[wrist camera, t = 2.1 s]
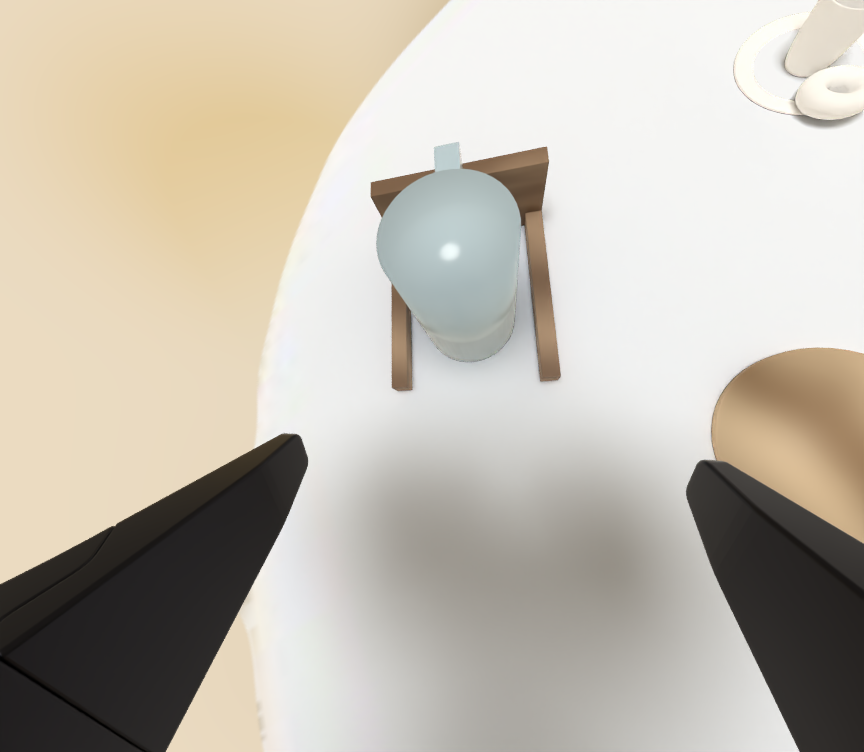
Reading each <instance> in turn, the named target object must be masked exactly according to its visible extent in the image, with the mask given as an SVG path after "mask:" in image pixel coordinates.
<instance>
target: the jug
mask: <svg viewBox="0 0 864 752" xmlns="http://www.w3.org/2000/svg"><path fill="white" fill-rule="evenodd" d="M434 158H435V172H434V173H432V174H429V175H426V176H424V177H422V178H420V179H418V180H416V181H415V182H413V183H412V184H410V185H409V186H407V187H406V188H405V189H404V190H402V191H401V192H400V193H399V194H398V195H397V196H396V197H395V199H394V200H393V201H392V202H391V203H390V205H389V206H388V208H387V210H386V211H385V213H384V215H383V217H382V219H381V222H380V225H379V228H378V233H377V243H376V244H377V254H378V259H379V262H380V264H381V267H382V269H383V270H384V272H385V274H386V275H387V277H388V278H389V280H390V281H391V283H392V284H393V286H394V287H395V288H396V290H397V291H398V293H399V294H400V296H401V297H402V299H403V300H404V301H405V303H406V304H407V306H408V307H409V309H410V310H411V312H412V313H413V314H414V316H415V317H416V319H417V320H418V322H419V323H420V324H421V326H422V327H423V329H424V330H425V332H426V333H427V335H428V336H429V337H430V339H431V340H432V342H433V343H434V345H435V346H436V347H437V349H439V350H440V351H441V352H442V353H443V354H444V355H446V356H448V357H449V358H452V359H454V360H458V361H463V362H474V361H480V360H483V359H486V358H488V357H490V356H492V355H494V354H495V353H497V352H498V351H499V350H500V349H501V348H502V347H503V346H504V345H505V344H506V343H507V341H508V340H509V338H510V336H511V334H512V331H513V327H514V320H515V306H516V292H517V278H518V264H519V250H520V236H521V217H520V212H519V208H518V206H517V203H516V201H515V199H514V197H513V195H512V194H511V193H510V191H509V190H508V189H507V188H506V187H505V186H504V185H503V184H502V183H501V182H499V181H498V180H496V179H495V178H493V177H491V176H489V175H487V174H485V173H482V172H479V171H475V170H470V169H463V166H462V159H461V153H460V146H459V142H456V143H451V144H447V145H442V146H438V147H434Z"/></svg>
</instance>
